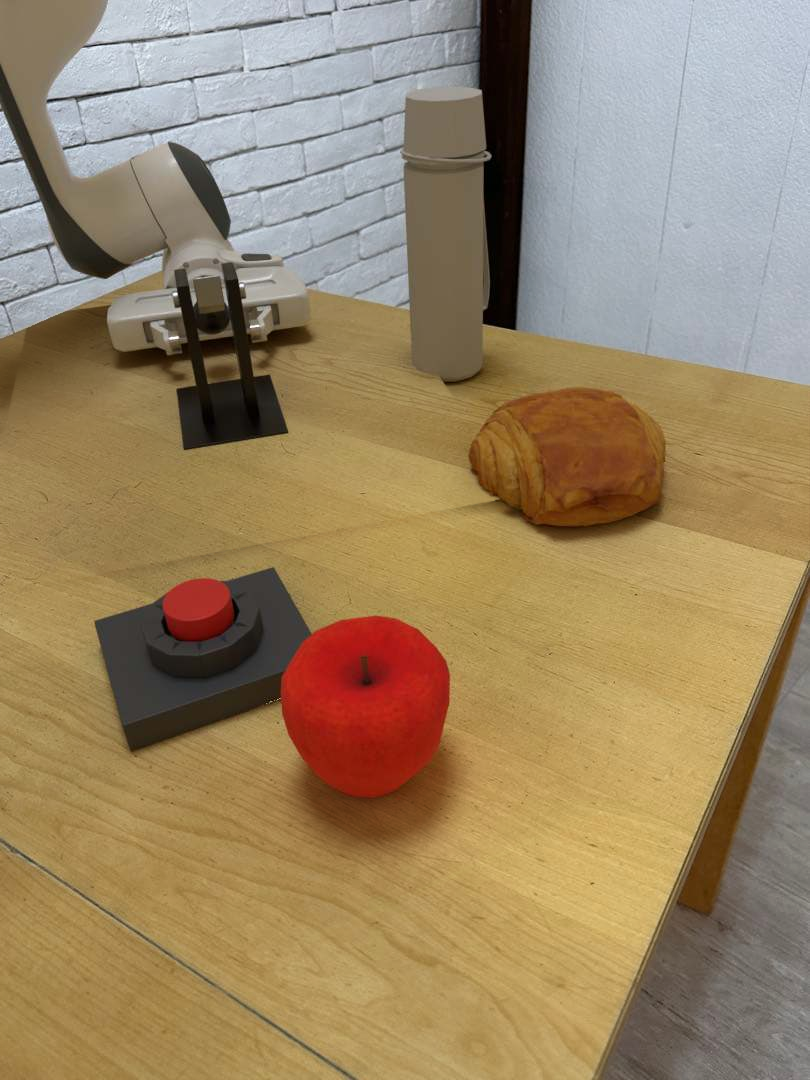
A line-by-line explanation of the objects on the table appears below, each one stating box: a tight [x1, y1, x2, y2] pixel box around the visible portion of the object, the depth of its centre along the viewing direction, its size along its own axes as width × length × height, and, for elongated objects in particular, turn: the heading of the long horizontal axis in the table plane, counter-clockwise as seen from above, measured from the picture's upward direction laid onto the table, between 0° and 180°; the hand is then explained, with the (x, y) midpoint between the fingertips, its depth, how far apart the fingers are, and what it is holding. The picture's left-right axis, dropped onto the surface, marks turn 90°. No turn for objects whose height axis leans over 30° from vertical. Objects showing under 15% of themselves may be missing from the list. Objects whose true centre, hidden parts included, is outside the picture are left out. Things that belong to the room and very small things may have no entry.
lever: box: [193, 276, 230, 335], centre depth 81 cm, size 13×4×4 cm, turn 14°
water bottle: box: [399, 85, 492, 383], centre depth 83 cm, size 9×8×25 cm
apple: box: [280, 615, 451, 799], centre depth 47 cm, size 9×9×8 cm
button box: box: [93, 566, 313, 753], centre depth 56 cm, size 12×10×4 cm
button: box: [162, 577, 234, 642], centre depth 54 cm, size 4×4×2 cm
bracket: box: [172, 262, 289, 451], centre depth 79 cm, size 12×9×14 cm
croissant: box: [467, 386, 667, 527], centre depth 70 cm, size 14×16×8 cm
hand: (216, 340), depth 87 cm, fingers open, 7 cm apart
